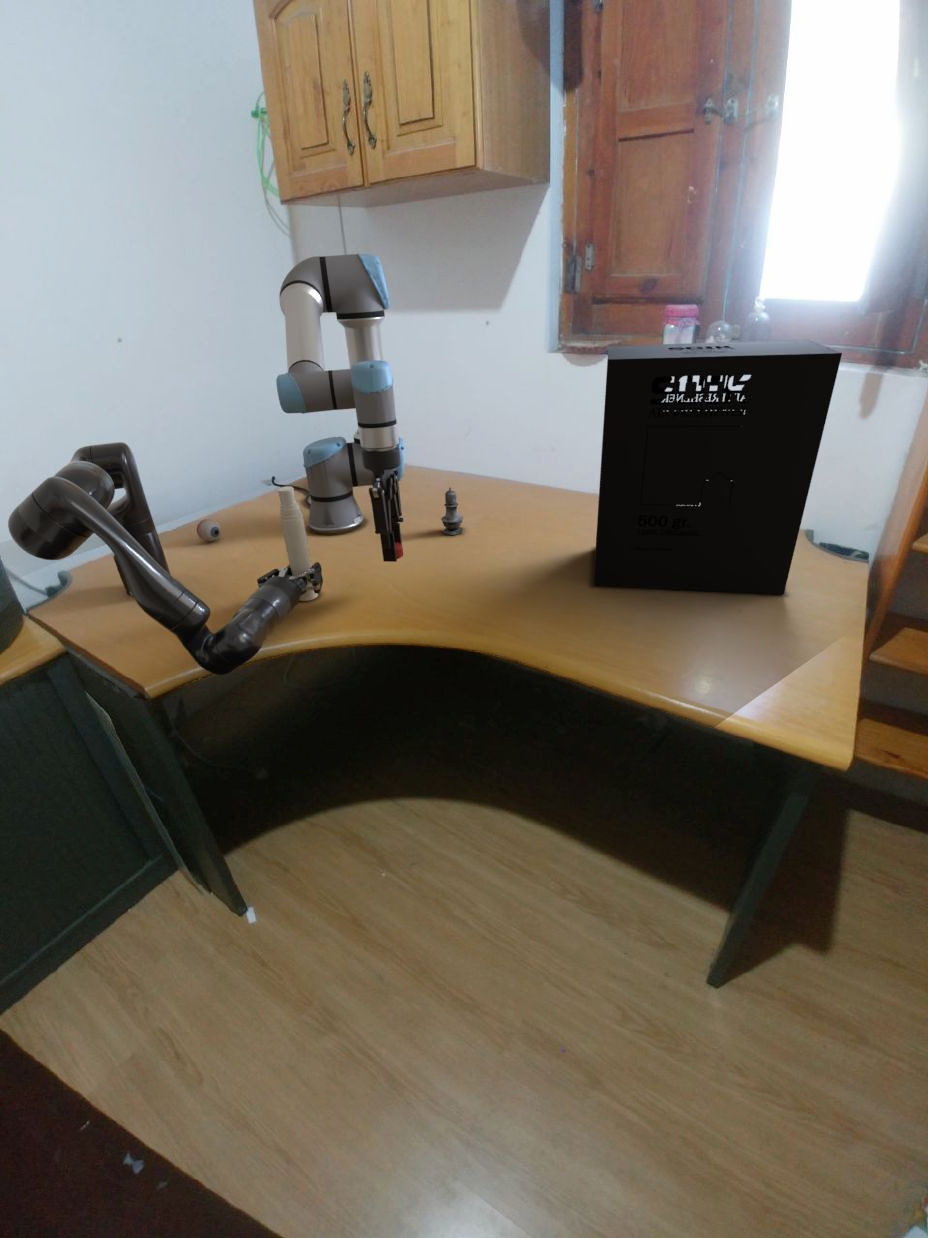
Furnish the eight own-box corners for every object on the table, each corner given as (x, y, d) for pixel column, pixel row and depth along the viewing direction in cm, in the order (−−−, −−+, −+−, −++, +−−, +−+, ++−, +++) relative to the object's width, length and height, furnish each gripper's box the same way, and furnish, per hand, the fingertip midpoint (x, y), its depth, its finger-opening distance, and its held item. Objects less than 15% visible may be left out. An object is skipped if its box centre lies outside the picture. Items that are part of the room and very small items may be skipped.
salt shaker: (461, 535, 158) (459, 491, 152) (439, 534, 159) (436, 490, 153) (465, 527, 163) (463, 483, 157) (444, 526, 164) (441, 483, 158)
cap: (381, 560, 128) (380, 549, 127) (385, 552, 132) (384, 542, 131) (401, 559, 128) (400, 549, 126) (404, 551, 131) (403, 541, 130)
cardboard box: (762, 553, 139) (808, 339, 116) (783, 594, 122) (842, 352, 99) (595, 547, 147) (608, 345, 124) (593, 585, 129) (608, 359, 107)
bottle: (307, 589, 135) (286, 483, 123) (322, 594, 133) (301, 486, 121) (292, 598, 132) (269, 490, 120) (307, 602, 130) (284, 493, 118)
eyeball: (210, 546, 160) (204, 525, 157) (195, 542, 163) (189, 521, 160) (228, 538, 164) (223, 518, 161) (213, 535, 167) (208, 514, 164)
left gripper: (302, 587, 114) (335, 550, 129) (233, 584, 117) (273, 548, 131) (309, 621, 118) (340, 582, 132) (243, 617, 120) (280, 579, 135)
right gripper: (374, 436, 126) (387, 540, 138) (347, 458, 112) (364, 572, 123) (409, 436, 125) (419, 541, 136) (386, 458, 110) (399, 573, 122)
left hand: (307, 565), depth 132 cm, fingers closed on bottle, 4 cm apart
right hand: (393, 556), depth 130 cm, fingers closed on cap, 4 cm apart
